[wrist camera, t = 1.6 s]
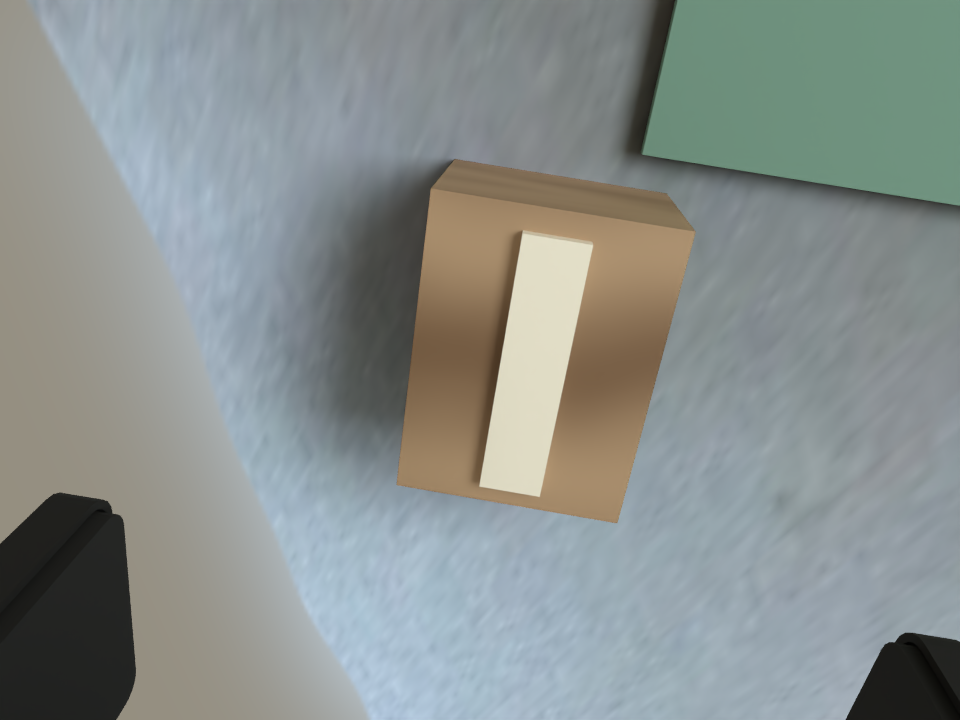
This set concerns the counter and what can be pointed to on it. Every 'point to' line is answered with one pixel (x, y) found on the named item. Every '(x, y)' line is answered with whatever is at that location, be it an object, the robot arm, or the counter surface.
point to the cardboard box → (538, 337)
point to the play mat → (815, 92)
